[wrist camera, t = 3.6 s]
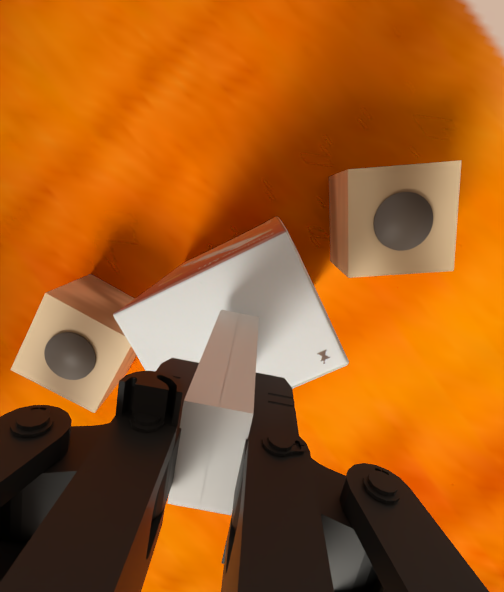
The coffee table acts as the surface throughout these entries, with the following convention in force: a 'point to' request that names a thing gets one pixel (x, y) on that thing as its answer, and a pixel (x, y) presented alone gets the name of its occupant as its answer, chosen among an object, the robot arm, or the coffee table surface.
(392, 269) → the marked block
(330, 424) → the coffee table surface
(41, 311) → the marked block
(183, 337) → the small box
